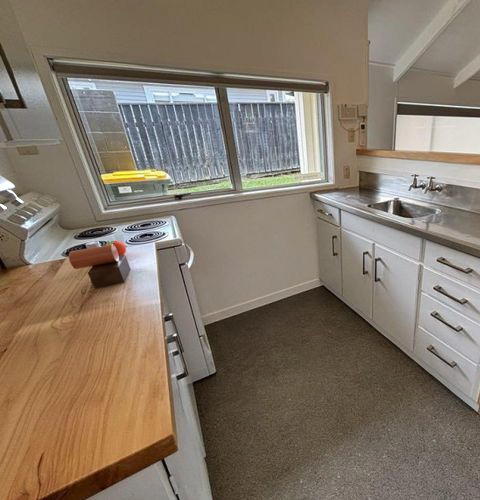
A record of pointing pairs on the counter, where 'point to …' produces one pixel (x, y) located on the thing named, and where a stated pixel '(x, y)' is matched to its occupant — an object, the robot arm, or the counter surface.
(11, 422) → the counter surface
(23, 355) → the counter surface
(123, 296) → the counter surface
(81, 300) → the counter surface
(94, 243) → the supplement bottle
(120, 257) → the walnut block
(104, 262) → the cup
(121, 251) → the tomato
